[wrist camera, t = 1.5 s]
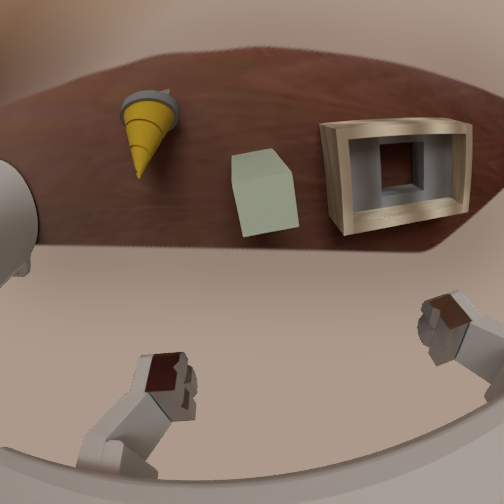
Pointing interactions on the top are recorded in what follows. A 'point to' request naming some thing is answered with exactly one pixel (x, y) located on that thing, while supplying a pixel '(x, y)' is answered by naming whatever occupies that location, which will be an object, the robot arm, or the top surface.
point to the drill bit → (148, 123)
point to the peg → (263, 192)
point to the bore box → (403, 196)
